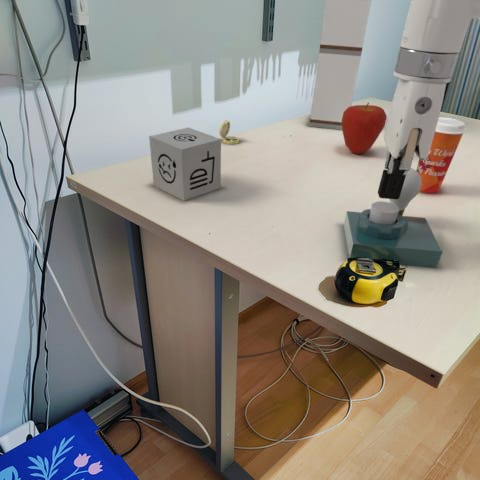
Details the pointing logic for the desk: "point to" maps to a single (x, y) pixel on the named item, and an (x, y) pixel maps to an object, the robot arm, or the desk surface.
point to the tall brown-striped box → (338, 60)
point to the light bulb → (408, 190)
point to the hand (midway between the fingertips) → (387, 196)
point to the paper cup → (440, 154)
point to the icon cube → (186, 162)
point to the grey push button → (383, 213)
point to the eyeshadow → (224, 131)
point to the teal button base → (392, 239)
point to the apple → (362, 126)
